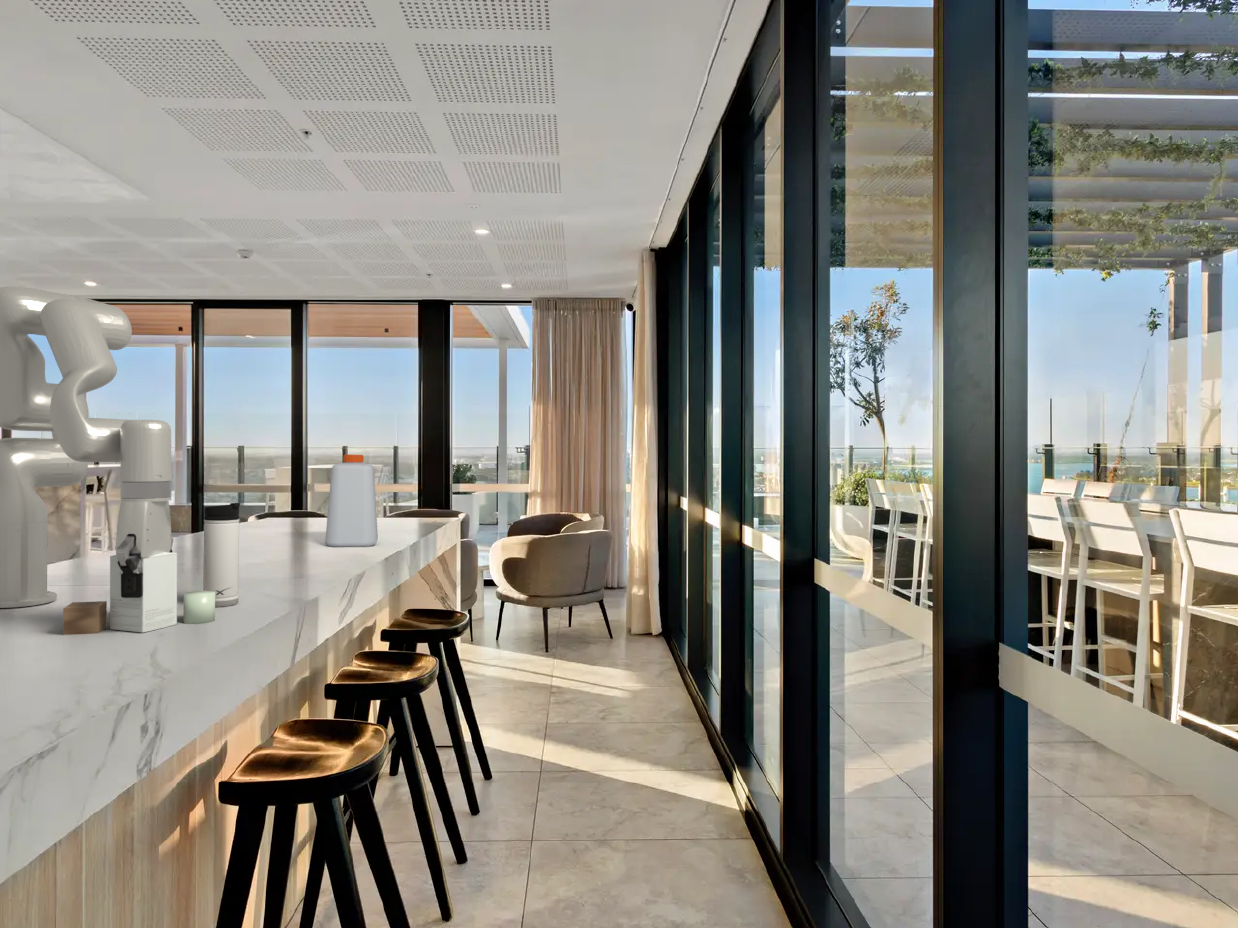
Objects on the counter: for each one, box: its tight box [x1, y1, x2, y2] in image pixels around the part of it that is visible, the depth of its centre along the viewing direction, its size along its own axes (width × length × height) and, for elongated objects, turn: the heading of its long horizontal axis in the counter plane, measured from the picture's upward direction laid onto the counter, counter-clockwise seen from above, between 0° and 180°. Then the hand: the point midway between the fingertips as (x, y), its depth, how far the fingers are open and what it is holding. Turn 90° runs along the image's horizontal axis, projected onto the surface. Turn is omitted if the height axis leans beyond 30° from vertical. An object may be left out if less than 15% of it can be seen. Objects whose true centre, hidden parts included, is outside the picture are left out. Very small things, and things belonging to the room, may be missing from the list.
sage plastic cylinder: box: [182, 590, 216, 625], centre depth 146 cm, size 5×5×5 cm
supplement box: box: [109, 552, 178, 633], centre depth 140 cm, size 7×7×13 cm
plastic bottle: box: [325, 454, 379, 548], centre depth 257 cm, size 15×15×28 cm
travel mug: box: [202, 502, 241, 608], centre depth 161 cm, size 6×7×20 cm
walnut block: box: [62, 600, 108, 636], centre depth 137 cm, size 5×5×4 cm
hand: (146, 592), depth 140 cm, fingers open, 9 cm apart
